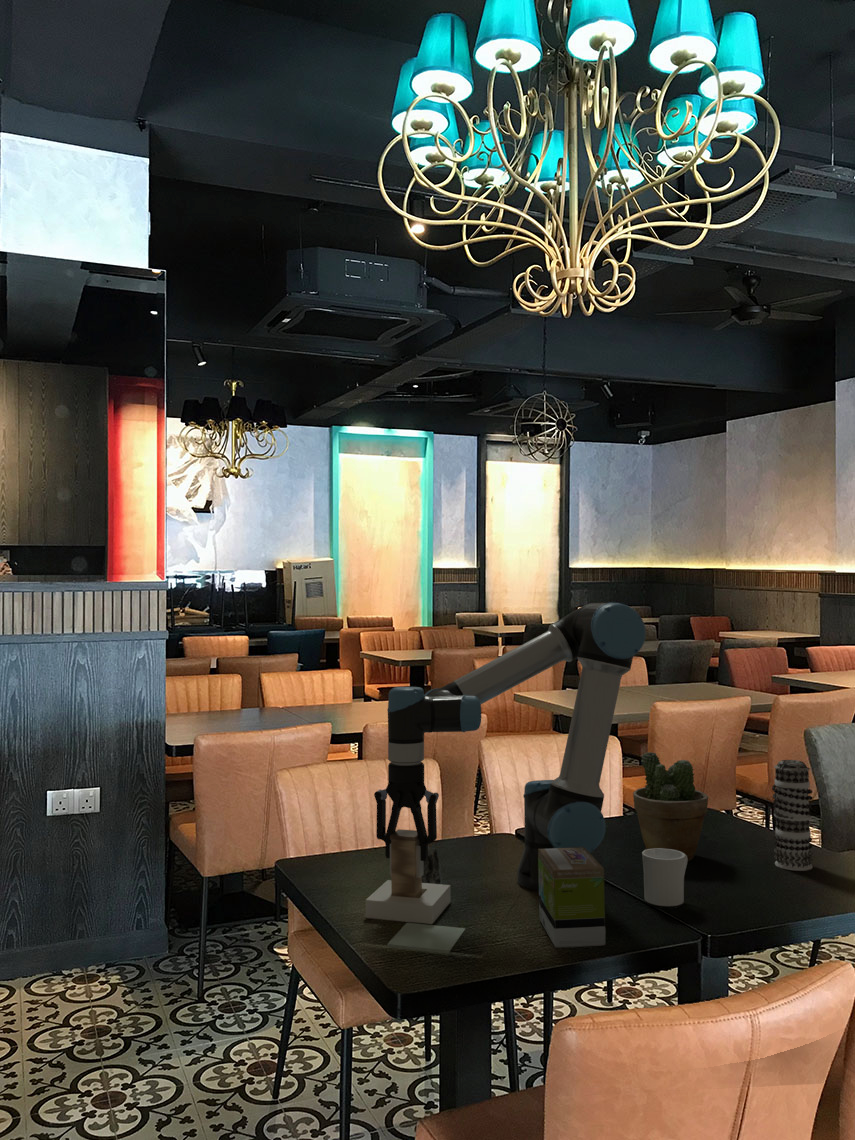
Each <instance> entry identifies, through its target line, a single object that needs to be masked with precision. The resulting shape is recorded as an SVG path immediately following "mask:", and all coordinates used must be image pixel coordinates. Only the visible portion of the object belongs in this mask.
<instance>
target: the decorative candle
mask: <svg viewBox="0 0 855 1140" xmlns="http://www.w3.org/2000/svg"><path fill="white" fill-rule="evenodd" d="M773 767H774V769H775V771H774V772H775V778H774V783H773V785H772V787H771V790H772V792H773V794H772V799H774V800H773V802H772V805H773V806H774V807H775V808H774V809H773V816H774V818H776V819H775V823H776V824H775V834H774V836H773V838H774V839H775V841H774V846H776V848H774V850H773V851H774V854H775V855H774V860H775V862H774V865H775V866H776V867H777V868H780V869H783V870H787V871H797V872H798V871H799V872H802V871H803V872H804V871H810V870H812V869H813V865H812V863H813V861H814V860H813V858H812V856H813V852H812V850H811V849H812V847H813V845H812V841H813V838H812V837H811V836H812V835H811V829H810V826H811V825H810V820H812V814H813V812H812V811H811V809H812V808H813V805H812V804H811V803H809V802H811V801H812V800H813V799H814V798H813V797H812V796H811V795H812V793H813V790H812V789H810V787H811V786H810V779H809V777H810V776H809V775H810V774H809V771H810V769H811V768H809V767H808V766H807V765H806V763H805V762H803V761H801V760H799V759H796V760H794V759H782V760H780V761H778V763H777V764H776V765H774V766H773Z"/></svg>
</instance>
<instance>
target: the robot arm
mask: <svg viewBox="0 0 855 1140" xmlns="http://www.w3.org/2000/svg"><path fill="white" fill-rule="evenodd" d="M646 631H647V630H646V625H645V622H644V620H643V618H642V617H641V615H640V614H639V613H638V612H637V610H636V609H635V608H634V607H631V606H630V605H627V604H624V603H620V602H614V601H611V602H592V603H591V602H590V603H588V604H585V605H582V606H580V607H579V608H577V609H576V610H574V611H572V612H571V613H569V614H567V615H565V616H564V617H562V618H560V619H558V620H557V621H555V622H553V623H552V624H550V625H549V626H548V629H547V630H546V631H545V632H544V633H542V634H540V635H538V636H536V637H534V638H532V639H530V640H528V641H527V642H525V643H522V644H521V645H519V646H517V647H516V648H513V649H512V650H509V651H507V652H506V653H504V654H502V655H500V656H498V657H497V658H495V659H493V660H491V661H489V662H487V663H485V664H483V665H481V666H480V667H478V668H475V669H473V670H472V671H470V672H468V673H466V674H465V675H462V676H461V677H459V678H457V679H456V680H453V681H452V682H450V683H447V684H445V685H444V686H441V687H436V688H433V689H430V690H428V691H427V692H426V693H425V692H424V688H422V687H420V686H419V687H418V686H396V687H392V688H391V689H390V690H389V692H388V700H387V701H388V703H387V737H388V738H387V740H388V741H387V755H388V756H387V760H388V761H389V763H388V764H387V765H388V766H387V776H388V777H387V782H388V783H387V786H386V788H384V789H378V790H376V791H375V792H374V795H373V796H374V799H375V801H376V835H375V836H376V839H377V840H381V841H383V842H384V844H385V845H384V846H385V858H386V859H389V876H390V877H391V839H390V835H391V834H393V833H394V832H395V831H397V826H398V823H399V819H400V814H401V810H403V809H402V808H407V809H410V812H411V814H412V817H413V821H414V825H415V830H416V831H417V834H418V838H419V842H420V843H419V844H418V845H417V846H416V878H420V877H421V876H422V875H423V874H424V862H423V861H426V860H427V858H428V847H429V844H432V843H434V842H435V841H436V840H437V838H438V836H437V835H438V834H437V832H438V831H437V830H438V829H437V828H438V827H437V825H438V824H437V803H438V800H439V796H440V795H439V793H438V792H431V791H429V790H427V787H426V785H425V784H426V783H425V764H424V762H423V761H424V760H425V733H427V734H428V733H429V734H431V733H454V732H455V733H460V732H461V733H466V732H475V731H478V730H479V729H480V727H481V723H482V707H481V705H483V704H485V703H486V702H489V701H490V700H492V699H494V698H495V697H498V696H500V695H501V694H503V693H505V692H507V691H509V690H510V689H513V688H515V687H516V686H518V685H520V684H522V683H524V682H525V681H528V680H529V679H531V678H534V677H535V676H537V675H538V674H540V673H542V672H545V671H546V670H548V669H550V668H552V667H553V666H556V665H557V664H559V663H562V662H563V661H564V662H566V663H567V662H568V663H571V662H572V661H575V660H576V659H577V660H578V662H579V663H580V665H581V667H582V668H581V673H580V677H579V681H578V685H577V686H578V687H577V692H576V697H575V701H574V705H573V711H572V716H571V720H570V725H569V731H568V735H567V740H566V744H565V748H564V753H563V758H562V764H561V768H560V773H559V776H558V777H556V778H554V779H541V780H531V781H528V782H526V783H525V785H524V793H523V796H522V797H523V801H524V804H523V806H524V808H523V809H524V810H523V811H524V814H523V815H524V820H523V821H524V849H523V852H522V855H521V858H520V862H519V865H518V868H517V870H516V871H517V872H516V873H517V874H516V876H517V878H516V880H517V883H518V884H519V885H520V886H522V887H524V888H527V889H530V890H534V891H538V892H539V870H538V849H551V848H572V847H585V849H586V850H587V851H588V852H589V853H590V854H591V853H592V852H593V851H595V850H596V849H597V848H598V847H599V846H600V845H601V843H602V842H603V840H604V837H605V835H606V830H607V829H606V828H607V826H606V825H607V823H606V820H605V816H604V814H603V812H602V809H603V804H604V798H605V794H604V792H603V790H602V789H601V787H600V782H601V776H602V773H603V768H604V763H605V758H606V754H607V753H606V752H607V749H608V744H609V739H610V735H611V730H612V724H613V720H614V715H615V709H616V704H617V700H618V696H619V691H620V685H621V681H622V677H623V676H624V675H625V674H627V673H628V672H630V671H631V668H632V663H633V659H634V656H635V655H636V654H637V653H639V652H640V651H641V650H642V648H643V646H644V644H645V641H646V635H647V634H646V633H647V632H646ZM388 797H389V798H390V800H391V801H392V805H391V812H390V815H389V816H390V817H389V820H388V824H387V823H386V822H387V817H386V816H387V809H386V808H387V801H386V800H387V798H388ZM424 797H425V801H426V803H427V828H426V825H425V824H426V823H425V821H424V816H423V812H422V806H421V805H422V804H421V801H422V800H423V798H424Z"/></svg>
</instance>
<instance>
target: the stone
mask: <svg viewBox="0 0 855 1140" xmlns="http://www.w3.org/2000/svg"><path fill="white" fill-rule="evenodd" d="M423 862H424V874H423V875H422V883H430V884H442V885H443V874H442V873H443V872H442V868H441V864H440V859H439V855H438V849H437V848H436V847H435V848H434V847H430V846H428V858H427V860H426V861H423Z"/></svg>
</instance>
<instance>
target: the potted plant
mask: <svg viewBox="0 0 855 1140" xmlns="http://www.w3.org/2000/svg"><path fill="white" fill-rule="evenodd" d="M641 758H642V759H641V763H642V767H643V768H644V774H645V779H644V780H645V784H646V785H644V787H640V788H637V789H636V790H634V791H633V792H632V798H633V808H634V810H635V812H636V814H637V818H638V822H639V823H638V824H639V827H640V833H641V836H642V840H643V843H644V846H645V850H647V849H654V848H663V849H672V850H677V851H680V852H682V853H684V854H685V855H687V858H688V862H690V861H691V860H693V859H694V858H695V855H696V851H697V847H698V844H699V841H700V838H701V833H702V828H703V825H704V824H703V823H704V818H705V816H706V814H707V812H708V804H709V802H708V801H709V795H708V794H707V793H705V792H703V791H700V790H696V786H695V784H694V782H695V780H694V777H695V773H694V772H693V771H694V770H695V769H694V766H693V764H692V763H691V762H690V761H689V760H688V759H679V760H677V761H676V762H674V763H673V765H671V766H669V768H668V769H666V766H665V765H664V764H662V763H661V762H660V757H659V756H658V755H657V753H656V752H651V751H649V752H645V753H644V754H643V755H642V756H641Z"/></svg>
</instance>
